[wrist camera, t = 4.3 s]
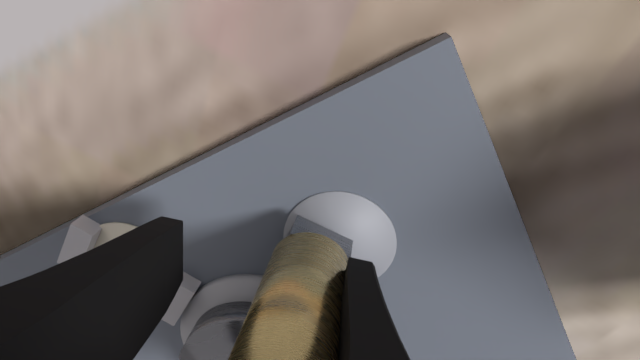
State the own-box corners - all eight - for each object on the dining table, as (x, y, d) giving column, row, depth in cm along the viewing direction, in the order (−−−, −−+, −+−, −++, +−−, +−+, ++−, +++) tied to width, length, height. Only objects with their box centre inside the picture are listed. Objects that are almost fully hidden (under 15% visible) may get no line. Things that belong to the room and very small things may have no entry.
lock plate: (581, 380, 15) (601, 421, 14) (179, 459, 22) (164, 492, 20) (443, 27, 11) (452, 34, 9) (-15, 259, 17) (-52, 284, 16)
